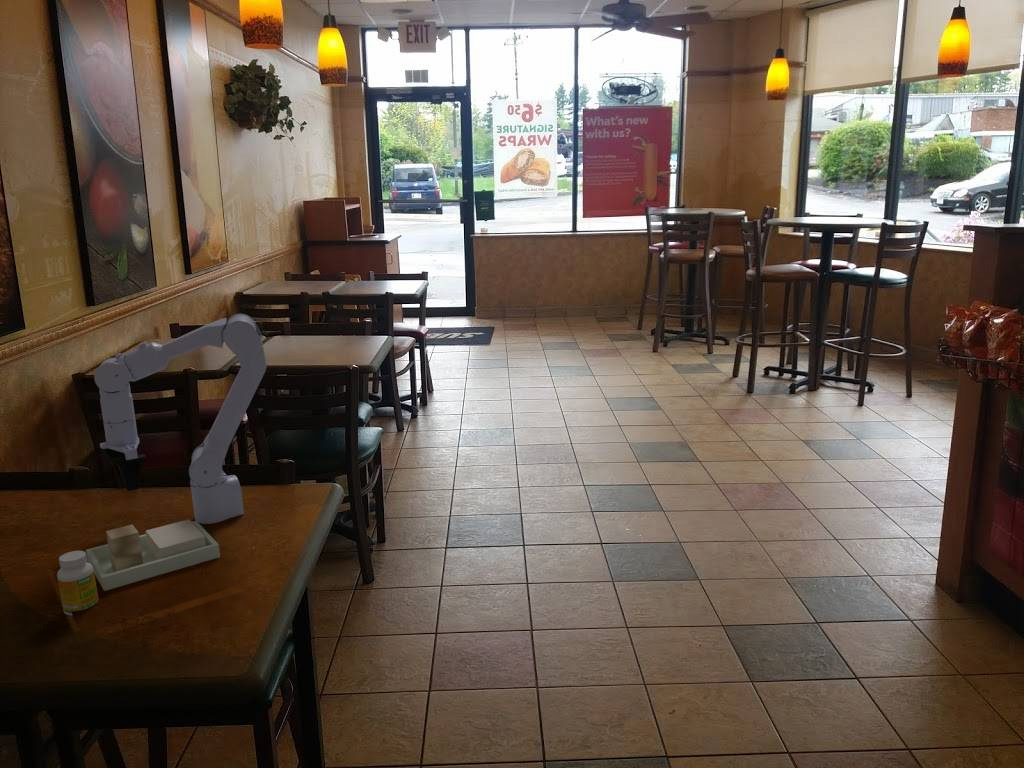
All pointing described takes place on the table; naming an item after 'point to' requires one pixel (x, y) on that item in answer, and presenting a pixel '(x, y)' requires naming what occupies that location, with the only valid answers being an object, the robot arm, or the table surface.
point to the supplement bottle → (76, 582)
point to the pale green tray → (148, 562)
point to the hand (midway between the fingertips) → (128, 484)
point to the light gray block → (174, 539)
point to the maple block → (124, 547)
